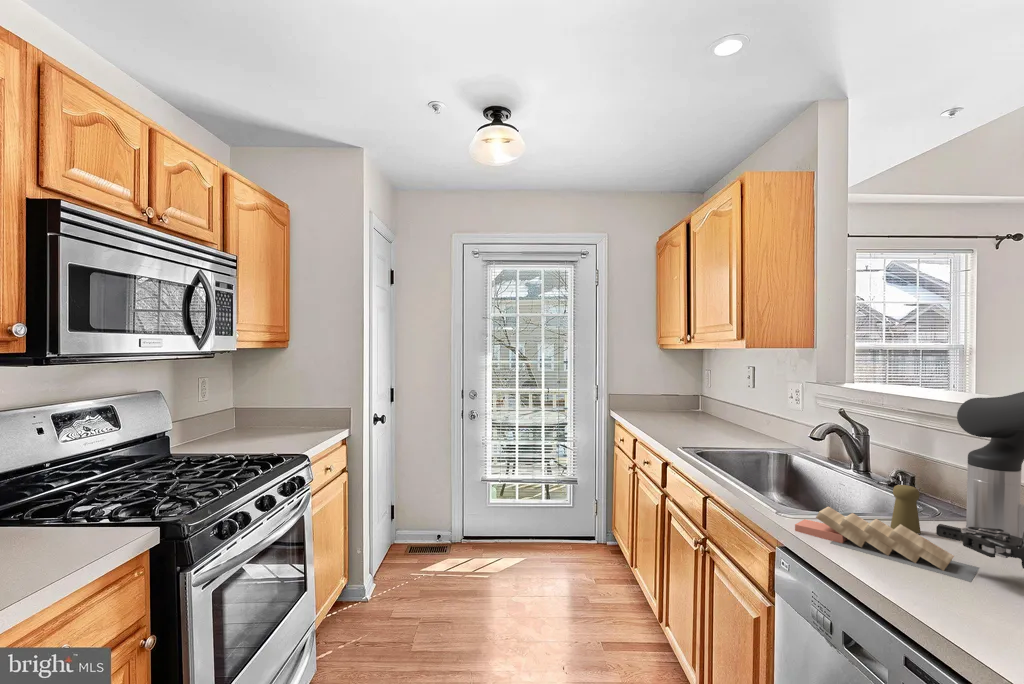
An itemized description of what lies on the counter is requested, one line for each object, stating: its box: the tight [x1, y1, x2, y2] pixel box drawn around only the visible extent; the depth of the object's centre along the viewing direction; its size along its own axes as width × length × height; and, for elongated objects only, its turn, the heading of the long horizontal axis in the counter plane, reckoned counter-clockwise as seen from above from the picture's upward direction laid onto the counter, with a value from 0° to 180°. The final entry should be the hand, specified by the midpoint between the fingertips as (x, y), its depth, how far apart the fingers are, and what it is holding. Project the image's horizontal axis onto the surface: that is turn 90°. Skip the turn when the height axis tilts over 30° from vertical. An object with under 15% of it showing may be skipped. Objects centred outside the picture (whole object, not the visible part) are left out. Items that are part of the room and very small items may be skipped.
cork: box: [889, 484, 921, 535], centre depth 127 cm, size 6×6×11 cm
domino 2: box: [815, 506, 867, 547], centre depth 119 cm, size 2×6×10 cm
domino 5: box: [889, 524, 955, 571], centre depth 108 cm, size 2×6×10 cm
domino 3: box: [840, 512, 894, 556], centre depth 115 cm, size 2×6×10 cm
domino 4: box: [864, 518, 921, 563], centre depth 112 cm, size 2×6×10 cm
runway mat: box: [829, 539, 980, 583], centre depth 111 cm, size 24×10×1 cm, turn 41°
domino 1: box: [794, 519, 848, 543], centre depth 122 cm, size 2×6×10 cm
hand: (937, 529), depth 106 cm, fingers closed
